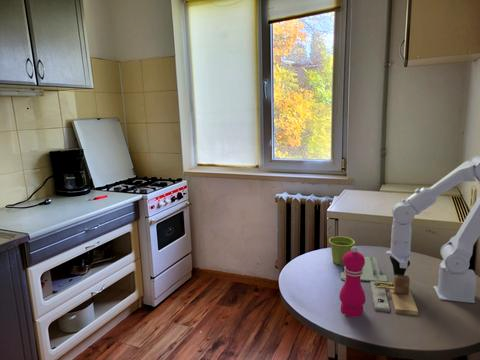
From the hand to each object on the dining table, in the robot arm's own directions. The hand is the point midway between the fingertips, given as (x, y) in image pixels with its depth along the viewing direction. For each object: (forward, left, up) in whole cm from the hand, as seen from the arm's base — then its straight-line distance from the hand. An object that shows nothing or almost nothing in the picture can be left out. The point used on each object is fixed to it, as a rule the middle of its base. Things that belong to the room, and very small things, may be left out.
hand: (398, 279), depth 114 cm
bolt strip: (+6, +7, -3) cm, 10 cm away
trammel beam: (+2, +7, -3) cm, 8 cm away
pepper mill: (+15, +17, -3) cm, 23 cm away
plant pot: (+18, -16, -3) cm, 24 cm away
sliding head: (+3, +5, -1) cm, 6 cm away
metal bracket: (+11, -8, -3) cm, 14 cm away
